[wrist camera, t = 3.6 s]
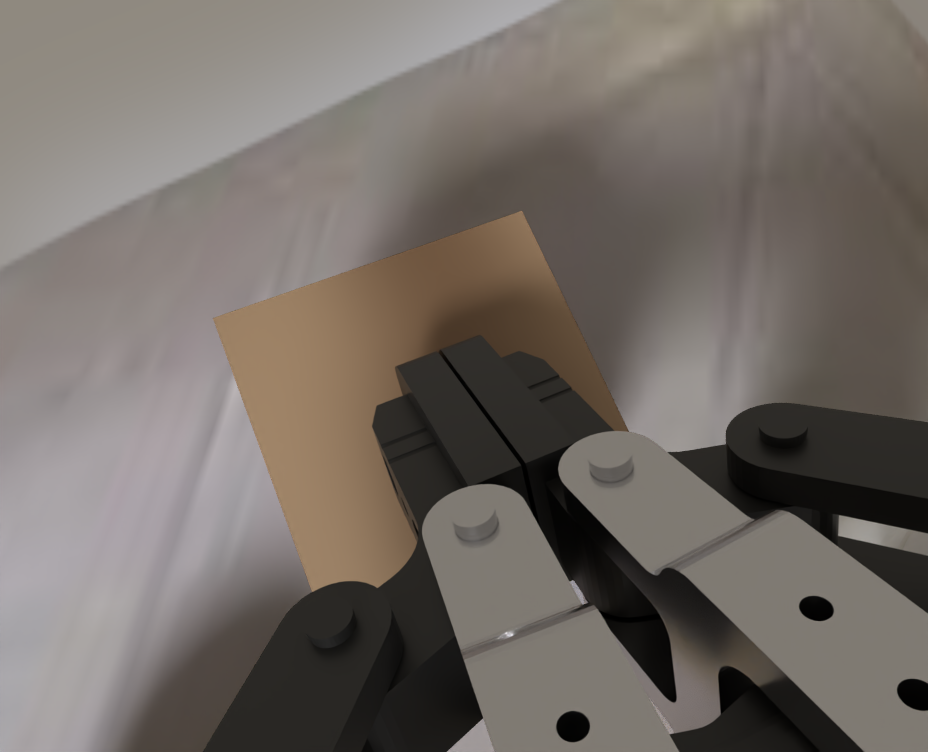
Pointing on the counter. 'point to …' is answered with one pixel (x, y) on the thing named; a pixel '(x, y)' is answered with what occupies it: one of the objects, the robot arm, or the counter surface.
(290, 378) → the brown wooden block
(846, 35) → the counter surface
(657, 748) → the robot arm
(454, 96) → the counter surface
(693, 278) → the counter surface
